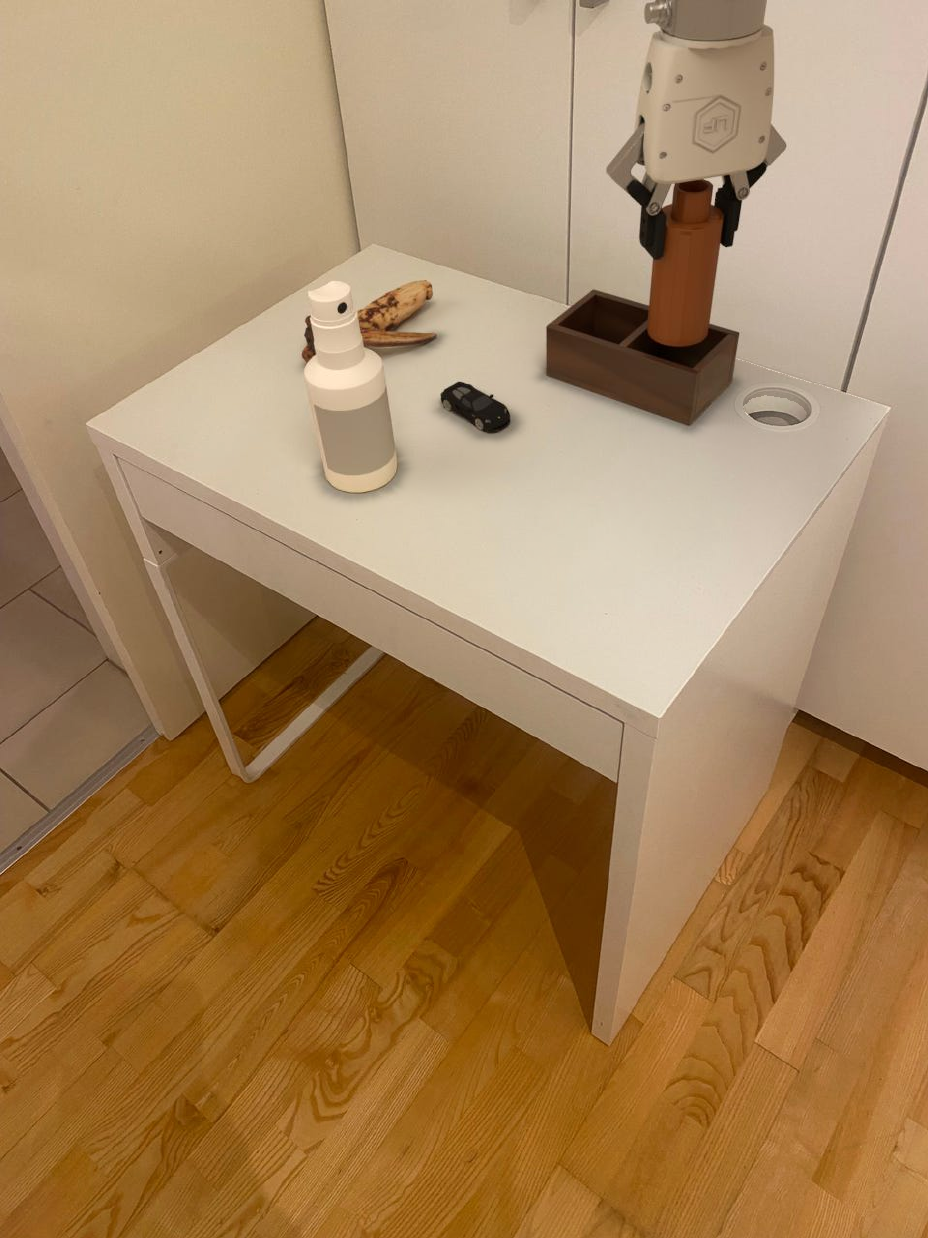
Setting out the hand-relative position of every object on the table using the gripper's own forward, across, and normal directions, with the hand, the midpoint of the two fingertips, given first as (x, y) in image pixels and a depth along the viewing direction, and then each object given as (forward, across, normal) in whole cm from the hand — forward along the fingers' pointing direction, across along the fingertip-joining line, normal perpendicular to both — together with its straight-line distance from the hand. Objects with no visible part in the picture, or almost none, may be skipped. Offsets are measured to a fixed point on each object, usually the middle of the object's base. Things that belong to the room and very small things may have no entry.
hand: (687, 244), depth 84 cm
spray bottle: (+15, -32, -3) cm, 35 cm away
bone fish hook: (+15, -26, +19) cm, 35 cm away
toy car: (+15, -19, +2) cm, 25 cm away
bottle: (+8, 0, 0) cm, 8 cm away
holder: (+15, -2, +3) cm, 15 cm away
